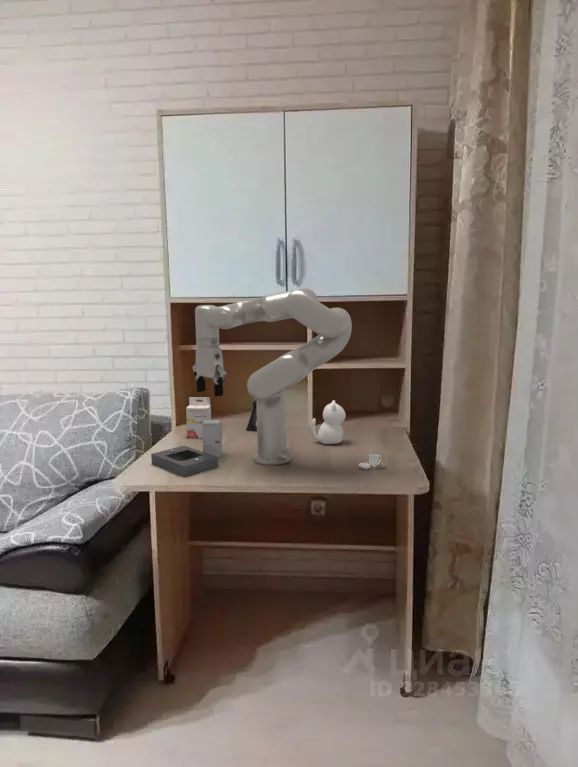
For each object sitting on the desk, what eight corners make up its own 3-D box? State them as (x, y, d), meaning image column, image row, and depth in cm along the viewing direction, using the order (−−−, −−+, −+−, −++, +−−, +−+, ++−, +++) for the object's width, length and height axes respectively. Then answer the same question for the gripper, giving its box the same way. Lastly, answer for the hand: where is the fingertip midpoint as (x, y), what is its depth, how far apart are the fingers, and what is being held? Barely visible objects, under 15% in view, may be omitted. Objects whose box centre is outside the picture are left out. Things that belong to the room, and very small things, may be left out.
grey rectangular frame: (218, 467, 219) (217, 456, 218) (184, 477, 210) (184, 465, 209) (184, 455, 233) (184, 444, 232) (151, 464, 224) (151, 452, 223)
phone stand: (246, 430, 262) (245, 400, 260) (251, 426, 268) (250, 397, 265) (268, 432, 260) (267, 401, 257) (273, 428, 265) (272, 398, 263)
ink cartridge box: (186, 438, 253) (184, 399, 250) (190, 434, 258) (188, 396, 255) (209, 438, 253) (207, 399, 250) (212, 434, 257) (210, 396, 254)
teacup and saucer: (359, 471, 213) (359, 459, 213) (358, 463, 221) (358, 451, 220) (387, 471, 213) (387, 459, 212) (385, 463, 221) (385, 451, 220)
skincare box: (202, 457, 230) (201, 422, 227) (205, 453, 234) (203, 419, 232) (220, 457, 229) (219, 423, 227) (223, 453, 233) (221, 419, 231)
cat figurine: (346, 446, 239) (346, 404, 236) (310, 446, 240) (310, 405, 237) (345, 439, 248) (345, 399, 245) (311, 439, 249) (310, 399, 246)
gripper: (233, 344, 220) (234, 395, 224) (201, 339, 233) (203, 388, 236) (214, 346, 215) (216, 399, 219) (183, 341, 228) (185, 391, 231)
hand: (209, 393), depth 227 cm, fingers open, 9 cm apart
